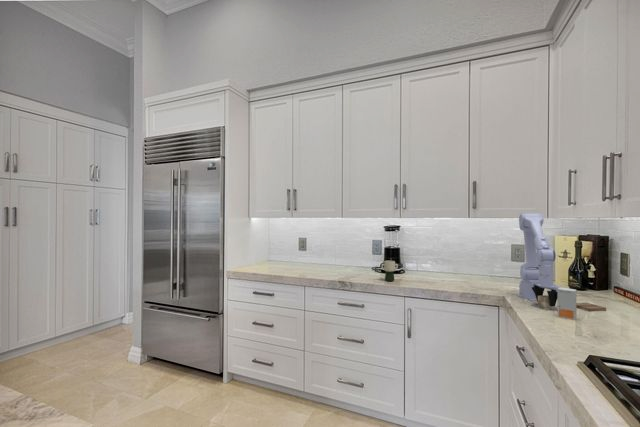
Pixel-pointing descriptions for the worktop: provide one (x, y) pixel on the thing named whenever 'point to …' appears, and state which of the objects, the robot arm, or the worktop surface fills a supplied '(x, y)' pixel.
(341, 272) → the worktop surface
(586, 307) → the walnut board
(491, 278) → the worktop surface
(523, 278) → the robot arm
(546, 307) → the birch block
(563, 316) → the skincare box
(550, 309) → the slate tile
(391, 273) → the character mug
